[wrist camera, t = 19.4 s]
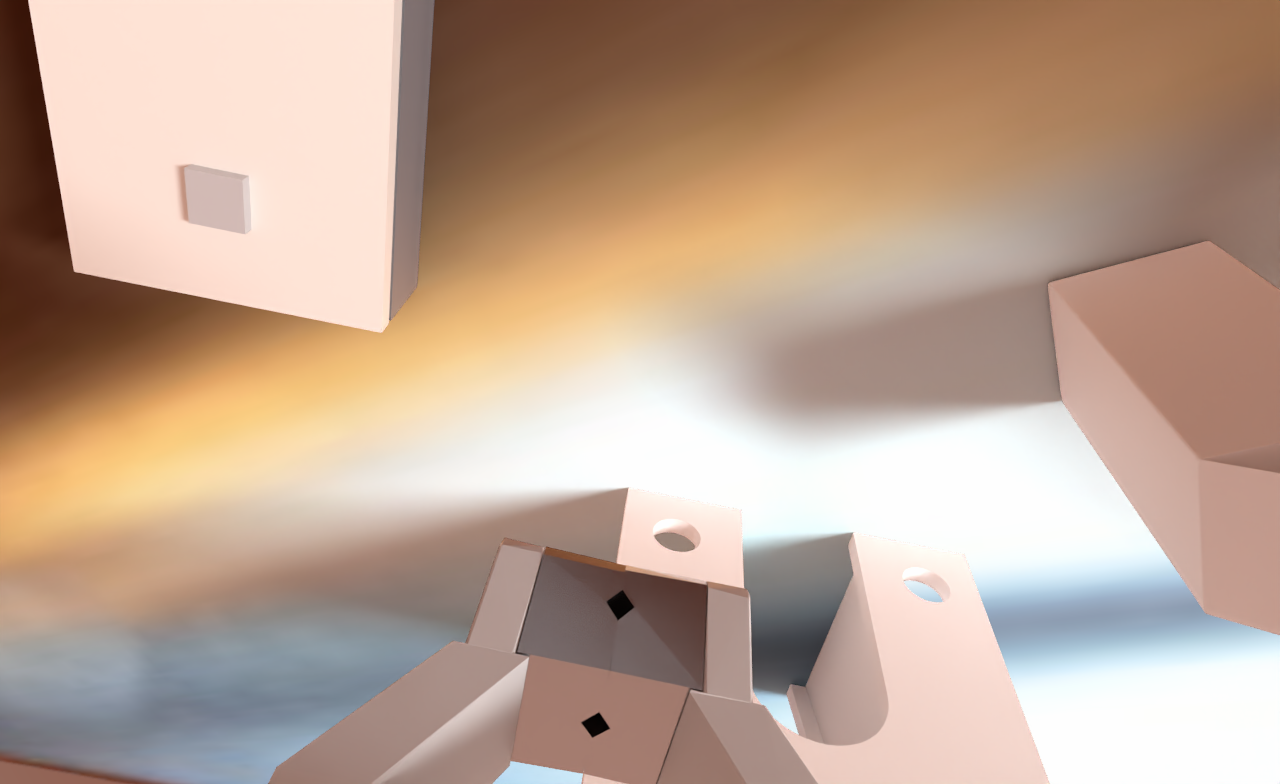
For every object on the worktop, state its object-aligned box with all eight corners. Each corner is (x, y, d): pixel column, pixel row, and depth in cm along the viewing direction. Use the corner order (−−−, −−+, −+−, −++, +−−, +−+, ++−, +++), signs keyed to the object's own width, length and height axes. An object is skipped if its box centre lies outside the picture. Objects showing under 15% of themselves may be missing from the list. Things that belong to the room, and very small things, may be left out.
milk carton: (1060, 402, 44) (1264, 704, 27) (1045, 280, 40) (1266, 540, 24) (1211, 367, 42) (1525, 666, 26) (1208, 237, 39) (1564, 485, 22)
